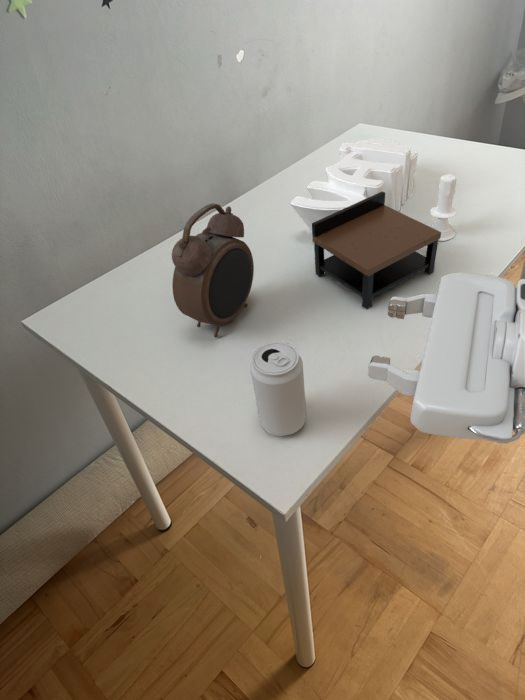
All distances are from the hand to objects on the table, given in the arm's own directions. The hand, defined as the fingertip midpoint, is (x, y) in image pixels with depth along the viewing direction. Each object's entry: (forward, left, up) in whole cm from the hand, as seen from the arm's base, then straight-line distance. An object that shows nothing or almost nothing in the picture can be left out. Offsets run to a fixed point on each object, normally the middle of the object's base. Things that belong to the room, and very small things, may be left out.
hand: (379, 334), depth 52 cm
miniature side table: (+27, -25, -18) cm, 41 cm away
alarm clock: (+34, +2, -19) cm, 39 cm away
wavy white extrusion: (+46, -39, -19) cm, 63 cm away
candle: (+28, -43, -19) cm, 55 cm away
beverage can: (+10, +7, -19) cm, 22 cm away
